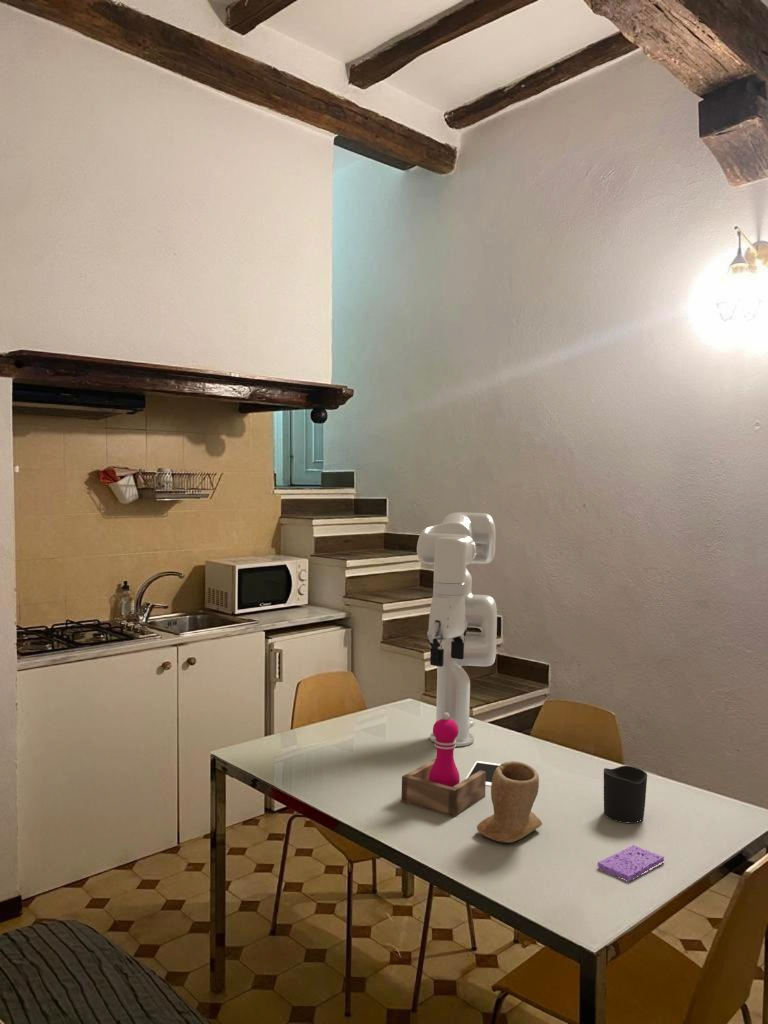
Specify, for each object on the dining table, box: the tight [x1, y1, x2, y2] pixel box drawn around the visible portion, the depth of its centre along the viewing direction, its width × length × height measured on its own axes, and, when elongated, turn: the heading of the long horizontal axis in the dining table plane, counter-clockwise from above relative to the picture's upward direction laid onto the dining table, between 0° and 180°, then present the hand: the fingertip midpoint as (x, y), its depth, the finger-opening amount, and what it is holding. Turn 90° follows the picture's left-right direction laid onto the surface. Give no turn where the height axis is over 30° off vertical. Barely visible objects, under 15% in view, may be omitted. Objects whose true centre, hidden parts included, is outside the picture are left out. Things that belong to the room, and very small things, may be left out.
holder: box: [400, 758, 486, 818], centre depth 186 cm, size 15×14×6 cm
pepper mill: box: [429, 713, 461, 787], centre depth 185 cm, size 7×7×20 cm
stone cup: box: [476, 761, 543, 844], centre depth 168 cm, size 15×12×15 cm
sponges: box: [597, 844, 665, 882], centre depth 155 cm, size 7×13×2 cm, turn 130°
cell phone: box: [465, 760, 502, 787], centre depth 204 cm, size 8×16×1 cm, turn 162°
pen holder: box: [603, 765, 648, 823], centre depth 179 cm, size 9×9×10 cm
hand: (447, 662), depth 186 cm, fingers open, 9 cm apart
